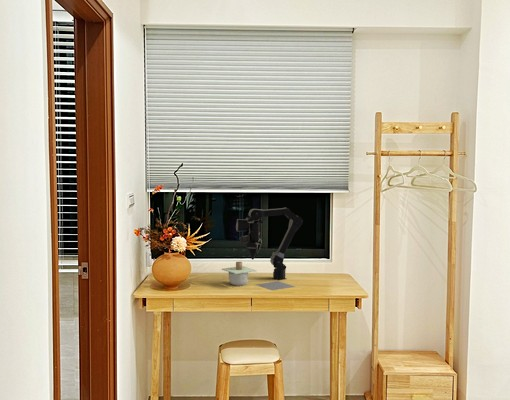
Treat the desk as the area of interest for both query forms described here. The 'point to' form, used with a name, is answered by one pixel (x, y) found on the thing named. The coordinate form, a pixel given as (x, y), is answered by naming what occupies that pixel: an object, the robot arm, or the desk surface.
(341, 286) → the desk surface
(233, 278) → the teacup
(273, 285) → the mat
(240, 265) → the lid
